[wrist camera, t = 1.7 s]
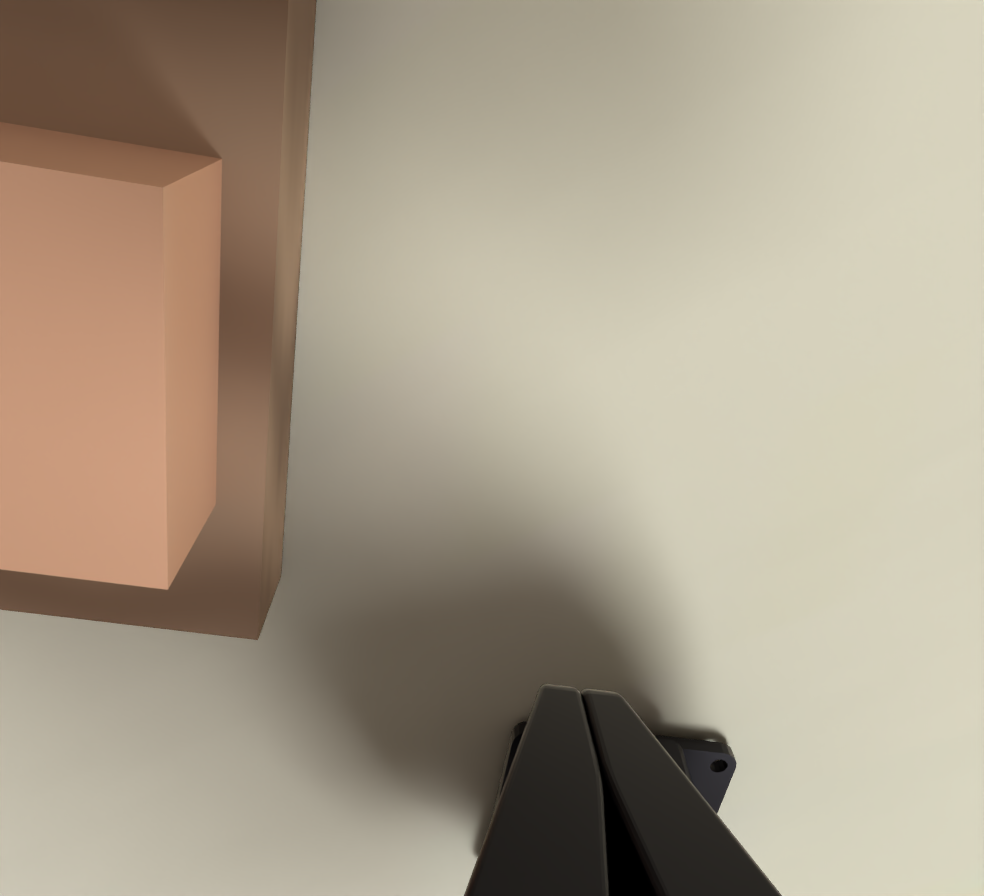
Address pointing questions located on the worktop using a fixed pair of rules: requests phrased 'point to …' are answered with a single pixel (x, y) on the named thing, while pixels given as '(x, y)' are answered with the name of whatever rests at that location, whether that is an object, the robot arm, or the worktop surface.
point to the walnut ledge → (243, 255)
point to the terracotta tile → (106, 355)
